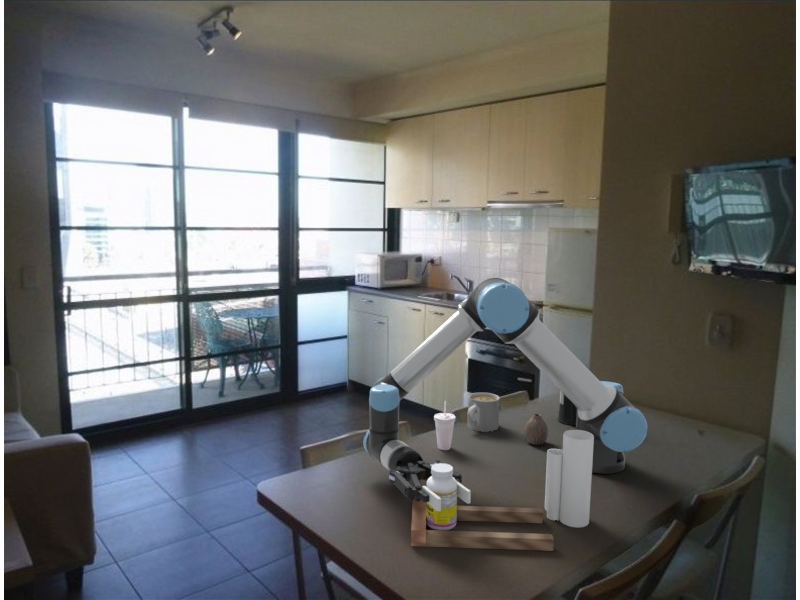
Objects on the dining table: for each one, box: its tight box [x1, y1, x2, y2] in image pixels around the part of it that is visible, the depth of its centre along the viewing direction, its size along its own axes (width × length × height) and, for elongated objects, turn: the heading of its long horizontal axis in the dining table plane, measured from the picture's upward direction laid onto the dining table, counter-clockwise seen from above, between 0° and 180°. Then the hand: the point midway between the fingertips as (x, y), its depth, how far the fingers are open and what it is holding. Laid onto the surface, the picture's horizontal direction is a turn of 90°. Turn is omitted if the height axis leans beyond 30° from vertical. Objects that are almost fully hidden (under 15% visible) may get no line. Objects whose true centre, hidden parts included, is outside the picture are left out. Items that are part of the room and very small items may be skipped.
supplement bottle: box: [425, 462, 458, 531], centre depth 126 cm, size 7×7×13 cm
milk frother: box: [557, 389, 577, 426], centre depth 195 cm, size 14×16×15 cm
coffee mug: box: [466, 392, 500, 433], centre depth 190 cm, size 13×10×10 cm
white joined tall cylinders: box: [544, 429, 594, 528], centre depth 133 cm, size 11×7×20 cm, turn 43°
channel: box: [410, 499, 555, 552], centre depth 127 cm, size 29×13×4 cm, turn 88°
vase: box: [524, 413, 549, 446], centre depth 178 cm, size 7×7×9 cm
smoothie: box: [433, 400, 457, 451], centre depth 173 cm, size 6×6×14 cm
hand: (454, 501), depth 122 cm, fingers closed on supplement bottle, 7 cm apart
